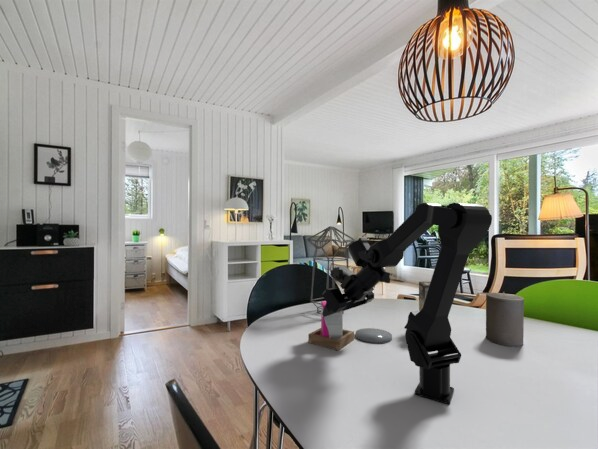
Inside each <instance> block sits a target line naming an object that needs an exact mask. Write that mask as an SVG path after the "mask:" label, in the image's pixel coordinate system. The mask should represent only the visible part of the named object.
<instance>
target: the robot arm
mask: <svg viewBox="0 0 598 449" xmlns="http://www.w3.org/2000/svg"><path fill="white" fill-rule="evenodd" d="M492 220H493V215H492V214H491V213H490V211H489V210H488V208H487V207H486V206H484V205H482V204H480V203H468V202H467V203H466V202H452V203H451V202H450V203H449V204H447V205H445V204H440V203H435V202H421V203H419V204H418V205H417V206H416V207H415V210H414V211H413V212H412V213H411V214H410V215H409V216H408V217H407V218H406V219H405V220H404V221H403V222H402V223H401V224H400V225H399V226H398V227H397V228H396V229H395V230H394V231H393V232H392V233H391V234H390V235H389V236H388V237H386V238H384V239H381V240H378V241H376V242H375V243H373V244H371V245H370V244H369V241H368V239H367V238H366V237H359V238H358V240H357V239H356V241H354V242H353V243H352V244H351V245H349V246H348V247H347V252H348V253H349V255H350V256H351V259H352V260H353V262H354V265H355V266H356V267H358V268H361V269H360V270H359V271H358V272H356V273H355V272H353V271H352V270H350V269H349V267H348V268H347V266H344V265H338V266H334V268H333V269H332V268H331V269H330V270H329V276H330V277H331V279H332V278H334V281H337V282H339V283H340V285H339V286H340V288H341V289H342V290H343V293H341V291H340V290H339V288H338V287H335V288H332V287H331V288H329V289H325V290H324V291H323V292H322V297H324V301H326V305H325V308H324V310H323V313H322V315H323V316H324V317H325V316H328V315H331V314H334V313H337V312H340V311H348V310H350V309H353V308H356V307H360V306H362V305H363V306H364V305H366V304H368V303H370V302H372V301H373V300H374V299H375V292H374V291H375V287H376V285H377V284H379V283H385V284H390V283H391V276H390V275H391V273H390V272H388V271H386V270H385V268H395V267H397V266H398V264H399V263H400V262H401V260H403V258H404V256H405V251H406V249H408V248H410V246H412V244H414V243H415V242H416V241H418V239H419V238H421V237H422V236H423V235H425V233H426V232H427V231H429V230H430V229H431V228H433V226H438V228H437V233H438V236H439V241H440V245H441V246H440V247H441V248H440V250H439V254H438V256H437V260H436V262H435V266H434V270H433V273H432V276H431V280H430V281H429V282H430V285H429V289H428V292H427V295H426V298H425V302H424V305H423V308H422V309H421V310H420V311H419V310H415V311H410V312H409V313H408V316H407V323H406V324H405V325H404V328H403V329H406V330H405V336H404V338H405V342H406V346H407V351H408V355H409V360H410V361H411V362H412V363H414V366H416V367H419V382H418V384H417V386H416V388H415V389H414V394H415V395H416V396H421V397H423V398H427V399H430V400H434V401H437V402H441V403H444V404H446V405H447V404H451V402H452V398H453V395H454V392H455V387H453V386H451V365H453V364H459V363H460V361H461V358H462V353H461V352H460V350H459V349H458V347H457V346H456V344H455V343H454V341H453V339H452V338H451V334H452V326H451V323H450V321H449V314H450V312H451V308H452V306H453V302H454V300H455V297H456V294H457V291H458V287H459V285H460V282H461V279H462V276H463V273H464V270H465V267H466V265H467V261H468V258H469V256H470V253H471V252H472V251H473V250H474V249H475V248H476V247H477V246H478V245H479V244H480V243H481V242H482V241H483V240H484V239H485V236H486V235H487V233H488V231H489V229H490V227H491V225H492Z"/></svg>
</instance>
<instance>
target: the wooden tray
mask: <svg viewBox="0 0 598 449" xmlns="http://www.w3.org/2000/svg"><path fill="white" fill-rule="evenodd" d="M307 337H308V344H311V345H312V344H313V345H315V346H321V347H323V348H324V347H325V348H328V349H332V350H337V351H340V350H342V349H344V347H346V346H347V345H349V344H350V343H351V342H353V341H354V340H355V331H353V330H348V329H345V328H344V329H343V336H342V337H341V338H339V339H334V338H329V337H325V336H321V327H319V328H318V329H316V330H314V331H312V332H310V333H308V336H307Z"/></svg>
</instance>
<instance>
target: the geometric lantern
mask: <svg viewBox="0 0 598 449" xmlns="http://www.w3.org/2000/svg"><path fill="white" fill-rule="evenodd" d="M321 233H322V234H321ZM341 234H342V235H343V236H345V237H348V238H349V239H345V238H344V237H343V236H342V235H341ZM318 235H319V237H318V238H317V239H312V238H315V237H316V236H318ZM333 236H334V239H333ZM326 237H327V238H326ZM341 239H342V240H341ZM306 241H308V242H309V243H310V244H311V245H312V246H313V247H314V248H315V250H314V253H313V257H312V276H311V277H312V278H311V293H310V301H309V302H310V303H312V304H313V305H314V306H315V307H316V313H317V314H319V315H321V302H318V300H323V299H324V297H323V296H322V297H319V298H313V294H314V281H315V270H316V261H317V260H318V261H326V262H327V269H326V270H327V271H326V272H327V273H326V274H327V275H326V289H329V287H330V283H329V282H330V281H329V280H330V262H331V270H332V269H333V268H335V265H334V264H335V262H342V261H343V262H344V261H345V262H346V268H348V269H349V256H348V255H349V254H348V247H349V245H351V244H352V243H353V242H355V241H357V239H355V238H353V237H351V236H350V235H348V234H346V233H345V232H343V231H342V230H340V229H338V228H336V226H328V227H326V228H324V229H322V230H321V231H319V232H318V233H316V234H314V235H312V236H310V237H308V238H306ZM330 242H332V243H333V244H335V245H336V246H337V247H338V248H337V249H336V251H335V253H334V254H333V256H332V257H330V256H329V255H328V254H327V253H326V251H325V249H324V247H325V246H327V245H329V243H330ZM318 243H319V244H318ZM339 243H340V245H339ZM343 244H345V246H343ZM319 249H320V250H322V252H323V254H324V255H325V257H317V253H318V250H319ZM339 251H343V253H344V258H341V257H335V256H336V255H337V253H338V252H339ZM331 288H336V286H335V279H334V278H332V277H331ZM326 289H325V290H326ZM324 300H325V299H324ZM316 304H317V305H320V306H317V305H316ZM319 309H320V310H319ZM344 313H345V312H344V311H342V315H343V314H344Z"/></svg>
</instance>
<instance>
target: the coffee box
mask: <svg viewBox="0 0 598 449" xmlns="http://www.w3.org/2000/svg"><path fill="white" fill-rule="evenodd" d="M430 282H431V281H418V311H420V310H421V309H422V308H423V305H424V302H425V298H426V295H427V292H428V289H429V285H430Z"/></svg>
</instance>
